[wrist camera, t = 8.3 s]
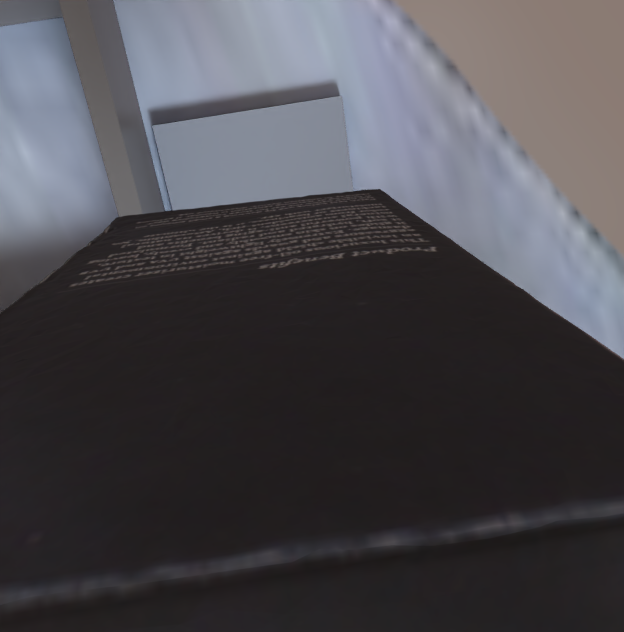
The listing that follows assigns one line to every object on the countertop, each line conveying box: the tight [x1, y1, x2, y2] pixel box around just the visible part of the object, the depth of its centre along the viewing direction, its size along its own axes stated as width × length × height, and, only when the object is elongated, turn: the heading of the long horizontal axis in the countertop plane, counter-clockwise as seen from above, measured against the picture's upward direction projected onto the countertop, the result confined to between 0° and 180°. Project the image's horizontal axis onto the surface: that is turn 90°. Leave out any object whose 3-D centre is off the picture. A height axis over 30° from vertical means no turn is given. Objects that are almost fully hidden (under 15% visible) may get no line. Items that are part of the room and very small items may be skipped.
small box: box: [0, 189, 624, 632], centre depth 9 cm, size 11×6×10 cm, turn 6°
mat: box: [152, 96, 353, 210], centre depth 28 cm, size 9×14×1 cm, turn 8°
